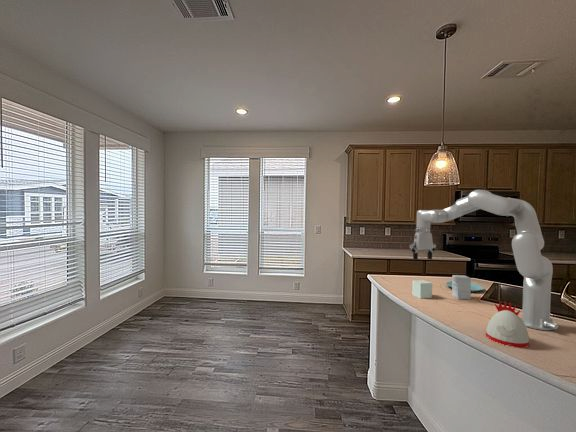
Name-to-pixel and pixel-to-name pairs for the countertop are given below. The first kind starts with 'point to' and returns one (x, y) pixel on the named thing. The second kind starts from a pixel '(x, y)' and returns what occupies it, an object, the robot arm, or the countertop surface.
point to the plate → (473, 286)
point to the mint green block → (422, 289)
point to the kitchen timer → (507, 327)
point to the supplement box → (461, 287)
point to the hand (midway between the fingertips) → (422, 259)
